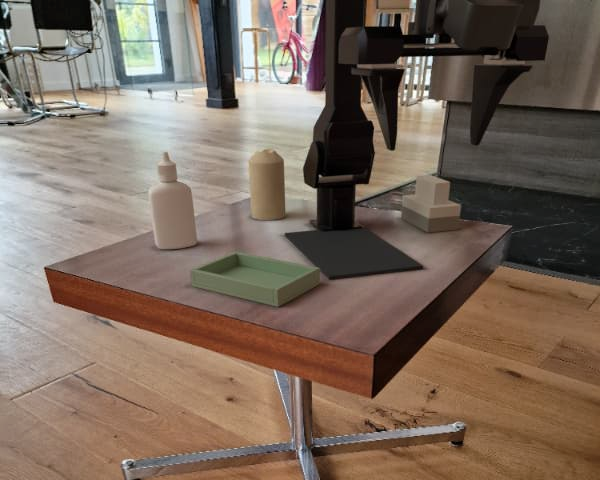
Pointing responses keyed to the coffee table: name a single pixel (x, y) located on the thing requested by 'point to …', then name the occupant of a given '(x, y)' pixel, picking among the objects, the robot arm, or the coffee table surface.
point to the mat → (351, 253)
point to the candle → (267, 185)
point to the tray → (256, 278)
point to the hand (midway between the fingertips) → (433, 147)
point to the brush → (431, 206)
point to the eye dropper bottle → (171, 209)
